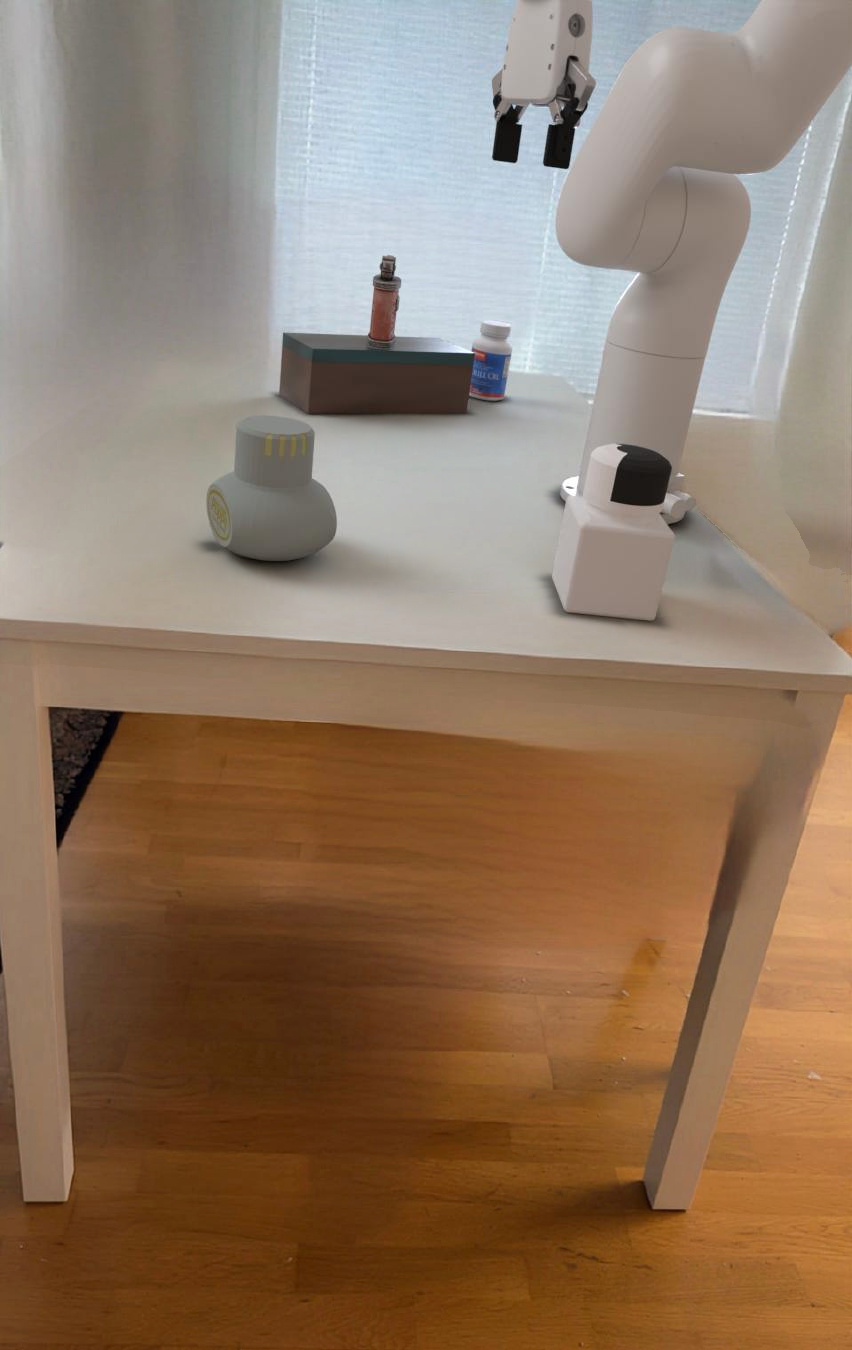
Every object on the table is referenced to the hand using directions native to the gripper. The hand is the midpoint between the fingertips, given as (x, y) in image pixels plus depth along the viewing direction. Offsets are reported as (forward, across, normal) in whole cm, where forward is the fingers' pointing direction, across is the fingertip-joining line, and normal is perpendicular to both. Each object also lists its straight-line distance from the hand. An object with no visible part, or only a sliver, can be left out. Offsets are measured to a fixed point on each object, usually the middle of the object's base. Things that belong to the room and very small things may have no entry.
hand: (529, 164), depth 118 cm
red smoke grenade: (+22, +11, +10) cm, 26 cm away
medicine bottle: (+31, -48, +22) cm, 61 cm away
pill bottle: (+29, +15, -9) cm, 34 cm away
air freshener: (+30, -33, +44) cm, 62 cm away
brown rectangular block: (+29, +11, +10) cm, 33 cm away
